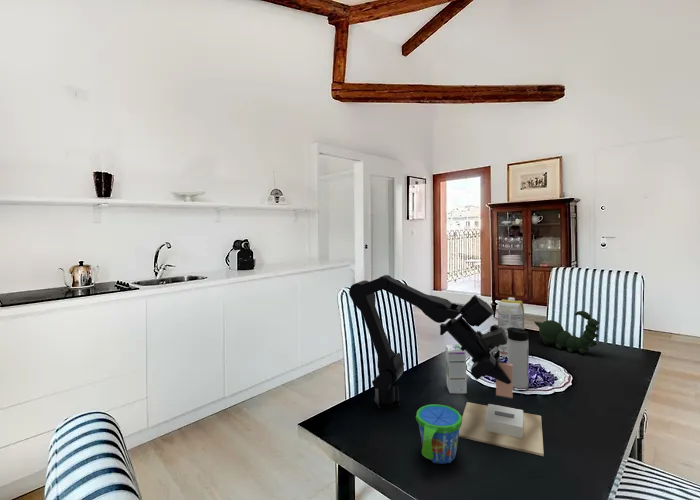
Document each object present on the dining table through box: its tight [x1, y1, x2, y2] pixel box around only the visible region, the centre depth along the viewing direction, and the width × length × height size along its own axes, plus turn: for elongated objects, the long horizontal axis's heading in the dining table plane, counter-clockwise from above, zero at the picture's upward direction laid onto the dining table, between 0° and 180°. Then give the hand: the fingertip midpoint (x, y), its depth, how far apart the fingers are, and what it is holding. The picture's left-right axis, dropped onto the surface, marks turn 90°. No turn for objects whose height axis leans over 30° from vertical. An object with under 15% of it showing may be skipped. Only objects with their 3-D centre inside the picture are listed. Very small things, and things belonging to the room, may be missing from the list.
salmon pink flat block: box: [495, 362, 514, 399], centre depth 95 cm, size 4×1×9 cm, turn 63°
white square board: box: [485, 403, 524, 439], centre depth 96 cm, size 9×9×3 cm
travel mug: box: [507, 328, 529, 390], centre depth 118 cm, size 6×7×20 cm
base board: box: [458, 401, 545, 457], centre depth 96 cm, size 20×18×1 cm
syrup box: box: [445, 344, 468, 395], centre depth 118 cm, size 6×6×14 cm
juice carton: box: [497, 297, 525, 358], centre depth 144 cm, size 9×8×24 cm
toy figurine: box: [533, 310, 600, 354], centre depth 151 cm, size 9×19×25 cm
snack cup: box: [415, 403, 463, 465], centre depth 85 cm, size 16×10×10 cm
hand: (509, 381), depth 94 cm, fingers closed on salmon pink flat block
